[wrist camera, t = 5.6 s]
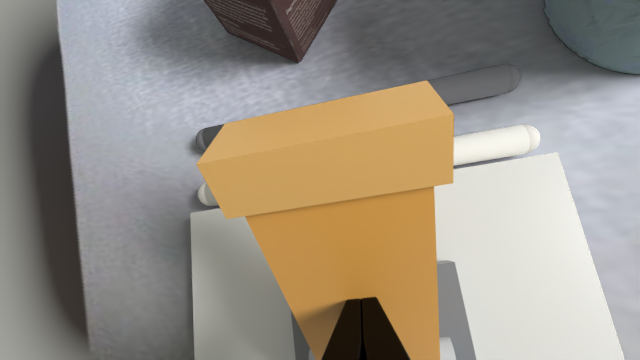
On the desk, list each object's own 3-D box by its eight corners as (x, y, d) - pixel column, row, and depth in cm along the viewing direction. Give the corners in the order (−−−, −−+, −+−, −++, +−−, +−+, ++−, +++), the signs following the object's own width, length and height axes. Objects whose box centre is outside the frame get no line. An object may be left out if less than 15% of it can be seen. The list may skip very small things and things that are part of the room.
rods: (509, 70, 16) (521, 54, 15) (535, 154, 15) (550, 145, 13) (204, 135, 19) (190, 126, 17) (207, 209, 18) (192, 206, 16)
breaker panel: (654, 515, 11) (726, 587, 9) (214, 509, 14) (180, 562, 12) (544, 159, 15) (575, 142, 12) (203, 215, 18) (174, 210, 15)
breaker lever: (460, 386, 10) (473, 110, 5) (313, 394, 11) (182, 166, 6) (445, 334, 12) (441, 77, 6) (316, 345, 13) (213, 126, 7)
